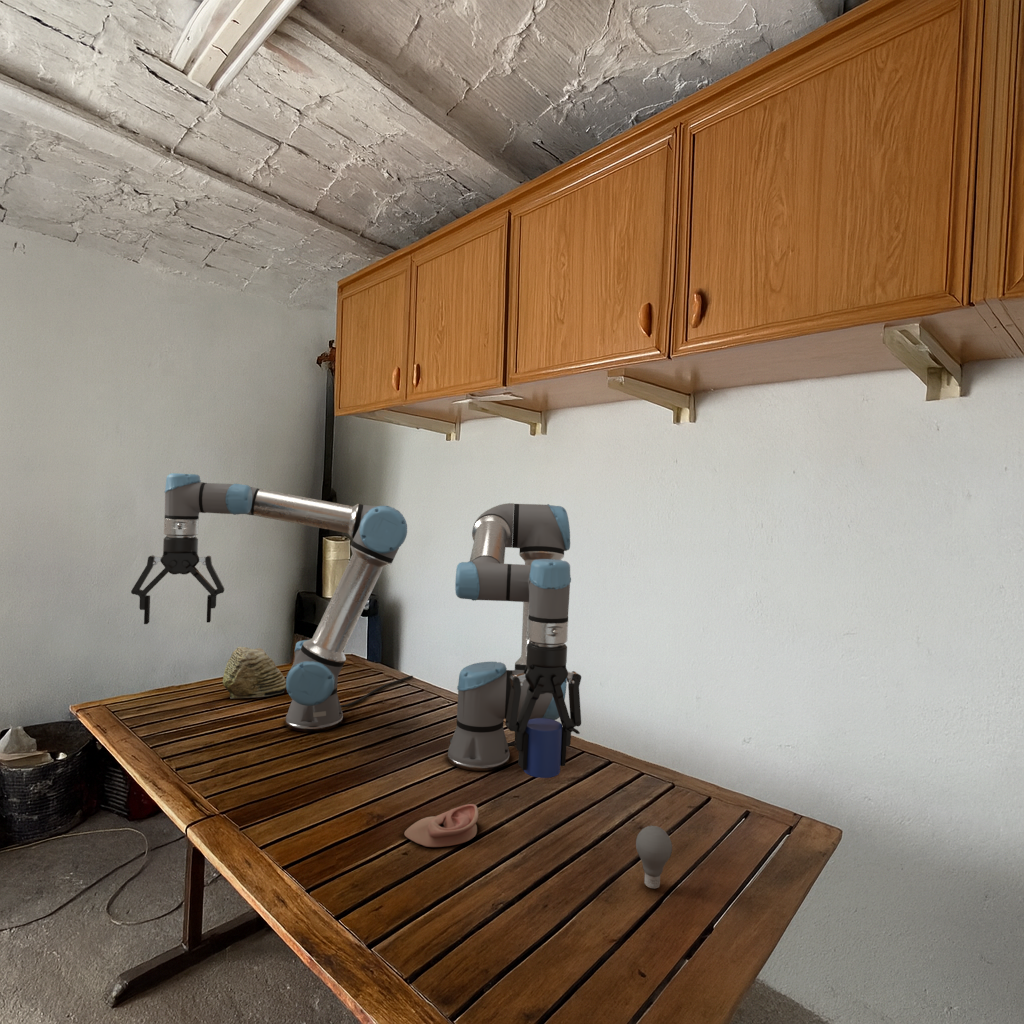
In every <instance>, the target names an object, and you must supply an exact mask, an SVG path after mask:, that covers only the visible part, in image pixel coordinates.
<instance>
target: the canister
mask: <svg viewBox="0 0 1024 1024" xmlns="http://www.w3.org/2000/svg"><path fill="white" fill-rule="evenodd" d="M562 727H563V726H562V723H561V721H558V720H552V719H546V718H535V719H530V720H529V721H528V724H527V726H526V729H525V731H526V733H527V734H528V752H527V770H523V771H524V773H525V774H526V775H528V776H530V777H534V778H540V779H550V778H555V777H557V776H558V775H559V774H560V773H561V743H562Z"/></svg>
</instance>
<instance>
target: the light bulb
mask: <svg viewBox="0 0 1024 1024" xmlns="http://www.w3.org/2000/svg"><path fill="white" fill-rule="evenodd" d="M635 848H636V849H635V850H636V852H637V854H638V857H639V858H640V860H641V863H642V869H643V872H644V879H643V880H644V885H645V886H647V887H648V888H650V889H658V888H660V886H661V875H662V874H663V871H664V867H665V866H666V863H668V861H669V860H670V858H671V855H672V852H673V842H672V840H671V838H670V836H669V834H668V832H666V831H665V829H663V828H662V827H660V826H657V825H648V826H645V827H643V828H642V829H641V830H640V831H639V832H638V833H637V835H636V839H635Z"/></svg>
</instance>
